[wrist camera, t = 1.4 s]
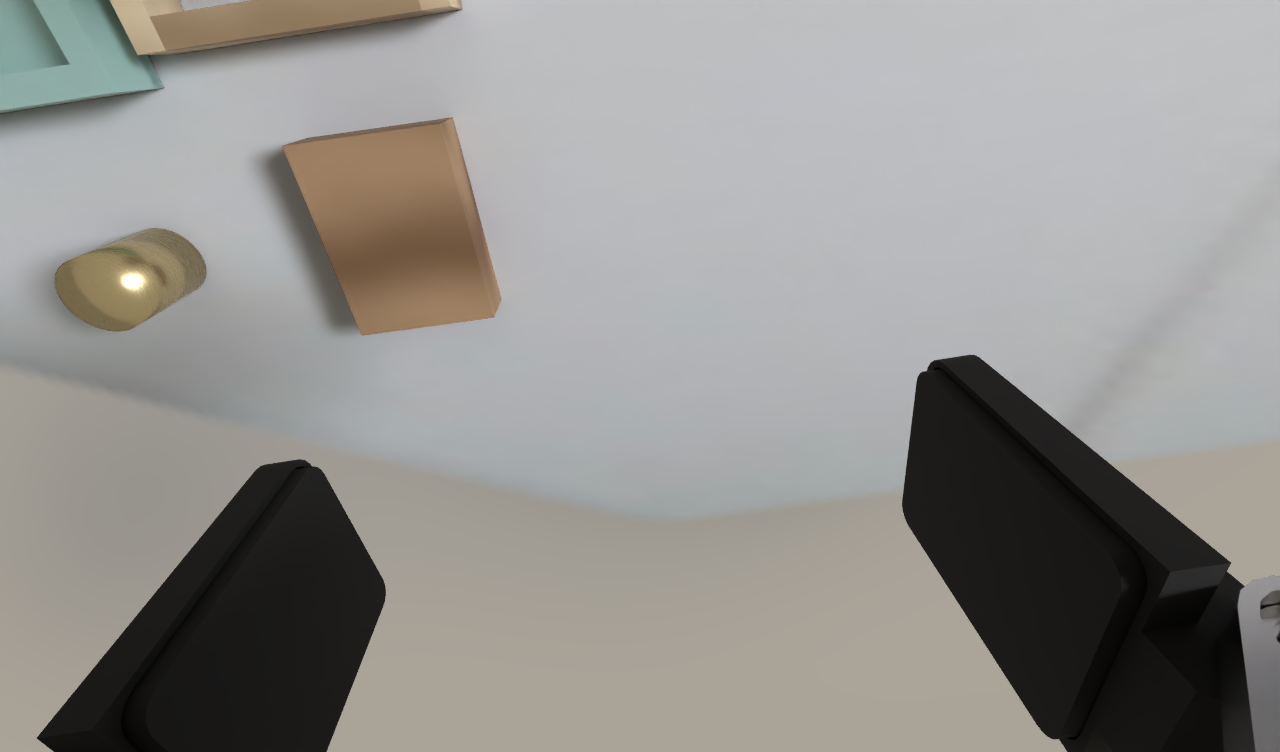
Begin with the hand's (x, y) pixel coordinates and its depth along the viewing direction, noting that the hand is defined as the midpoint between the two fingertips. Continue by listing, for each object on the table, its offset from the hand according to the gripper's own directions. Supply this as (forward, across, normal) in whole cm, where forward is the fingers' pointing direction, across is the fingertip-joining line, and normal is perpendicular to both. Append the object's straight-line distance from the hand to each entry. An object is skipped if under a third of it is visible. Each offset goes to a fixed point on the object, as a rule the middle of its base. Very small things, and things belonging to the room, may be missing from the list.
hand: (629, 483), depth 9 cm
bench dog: (+19, +20, -1) cm, 27 cm away
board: (+19, +9, -1) cm, 21 cm away
